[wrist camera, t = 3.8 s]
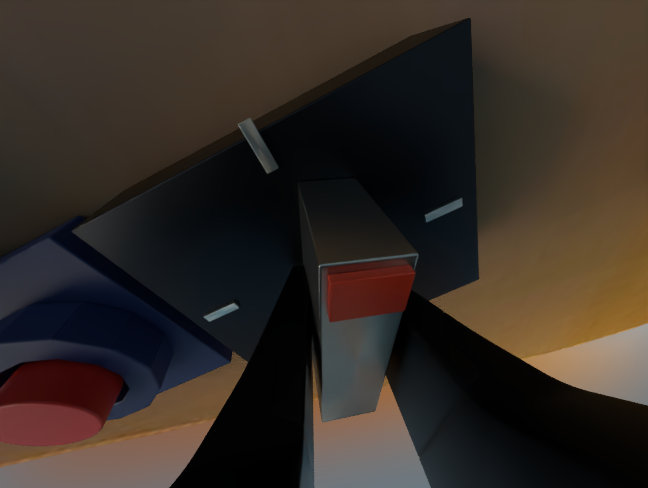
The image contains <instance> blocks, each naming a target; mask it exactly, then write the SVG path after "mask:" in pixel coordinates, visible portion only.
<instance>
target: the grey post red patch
mask: <svg viewBox="0 0 648 488" xmlns="http://www.w3.org/2000/svg"><path fill="white" fill-rule="evenodd" d="M298 197H299V211H300V225H301V240H302V254H303V265H304V267H305V271H306V276H307V281H308V286H309V297H310V311H311V326H312V358H313V364H314V371H315V378H316V385H317V392H318V399H319V405H320V412H321V419H322V422H327V421H331V420H336V419H341V418H346V417H351V416H355V415H360V414H364V413H369V412H374V411H375V410H376V406H377V403H378V399H379V396H380V392H381V389H382V385H383V382H384V378H385V374H386V371H387V367H388V364H389V360H390V356H391V353H392V349H393V346H394V342H395V338H396V335H397V331H398V328H399V324H400V320H401V317H402V313H403V311H405V309H406V306H407V302H408V299H409V295H410V292H411V288H412V284H413V281H414V277H415V274H416V273H415V271H414V270H415V266H416V263H417V259H418V253H417V251H416V250H415V249H414V248H413V247H412V245H411V244H410V243H409V242H408V241H407V239H406V238H405V237H404V236H403V235H402V233H401V232H400V231H399V230H398V229H397V227H396V226H395V225H394V224H393V223H392V222H391V220H390V219H389V218H388V217H387V216H386V214H385V213H384V212H383V211H382V210H381V208H380V207H379V206H378V205H377V204H376V202H375V201H374V200H373V199H372V198H371V196H370V195H369V194H368V193H367V192H366V191H365V189H364V188H363V187H362V186H361V185H360V183H359V182H358V181H357V180H356V179H355V178H347V179H332V180H317V181H302V182H298Z"/></svg>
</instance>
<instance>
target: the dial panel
mask: <svg viewBox="0 0 648 488" xmlns="http://www.w3.org/2000/svg"><path fill="white" fill-rule="evenodd" d="M238 126H239V129H238V130H236V131H234V132H232V133H230V134H228V135H227V136H225V137H223V138H221V139H219V140H217V141H215V142H214V143H212V144H210V145H208V146H206V147H204V148H202V149H201V150H199V151H197V152H195V153H193V154H191V155H189V156H188V157H186V158H184V159H182V160H180V161H178V162H176V163H175V164H173V165H171V166H169V167H167V168H165V169H164V170H162V171H160V172H158V173H156V174H154V175H152V176H151V177H149V178H147V179H145V180H143V181H141V182H139V183H138V184H136V185H134V186H132V187H130V188H128V189H126V190H125V191H123V192H122V193H120V194H119V195H118V196H116V197H115V198H114V199H112V200H111V201H110V202H108V203H107V204H106V205H104V206H103V207H102V208H100V209H99V210H98V211H96V212H95V213H94V214H92V215H91V216H90V217H88V218H87V219H86V220H84V221H83V222H82V223H80V224H79V225H78V226H76V227H75V228H74V229H72V233H74V234H75V235H76V236H78V237H79V238H81V239H82V240H83V241H85V242H86V243H87V244H89V245H90V246H91V247H93V248H94V249H95V250H97V251H98V252H99V253H101V254H102V255H104V256H105V257H106V258H108V259H109V260H110V261H112V262H113V263H114V264H116V265H117V266H118V267H120V268H121V269H123V270H124V271H125V272H127V273H128V274H129V275H131V276H132V277H133V278H135V279H136V280H137V281H139V282H140V283H142V284H143V285H144V286H146V287H147V288H148V289H150V290H151V291H152V292H154V293H155V294H156V295H158V296H159V297H161V298H162V299H163V300H165V301H166V302H167V303H169V304H170V305H171V306H173V307H174V308H175V309H177V310H178V311H180V312H181V313H182V314H184V315H185V316H186V317H188V318H189V319H190V320H192V321H193V322H194V323H196V324H197V325H198V326H200V327H201V328H203V329H204V330H205V331H207V332H208V333H209V334H211V335H212V336H213V337H215V338H216V339H217V340H219V341H220V342H222V343H223V344H224V345H226V346H227V347H228V348H230V349H231V350H232V351H234V352H235V353H236V354H238V355H239V356H241V357H242V358H243V359H245V360H246V361H247V362H249V360H250V358H251V356H252V354H253V352H254V350H255V347H256V345H257V344H258V341H259V339H260V337H261V335H262V332H263V330H264V328H265V326H266V324H267V322H268V319H269V317H270V315H271V313H272V311H273V309H274V306H275V304H276V302H277V300H278V298H279V295H280V293H281V291H282V289H283V287H284V285H285V282H286V280H287V278H288V276H289V274H290V272H291V269H292V267H293V266H299V265H303V254H302V240H301V225H300V211H299V197H298V182H302V181H317V180H332V179H347V178H355V179H356V180H357V181H358V182H359V183H360V185H361V186H362V187H363V188H364V189H365V191H366V192H367V193H368V194H369V195H370V196H371V198H372V199H373V200H374V201H375V202H376V204H377V205H378V206H379V207H380V208H381V210H382V211H383V212H384V213H385V214H386V216H387V217H388V218H389V219H390V220H391V222H392V223H393V224H394V225H395V226H396V227H397V229H398V230H399V231H400V232H401V233H402V235H403V236H404V237H405V238H406V239H407V241H408V242H409V243H410V244H411V245H412V247H413V248H414V249H415V250H416V251H417V253H418V259H417V263H416V266H415V270H414V271H415V273H416V274H415V277H414V281H413V284H412V288H411V289H412V290H413V291H415V292H416V293H418V294H419V295H420V296H422V297H423V298H425V299H426V300H428V301H429V300H431V299H433V298H436V297H438V296H441V295H443V294H445V293H448V292H450V291H452V290H455V289H457V288H459V287H462V286H464V285H466V284H469V283H471V282H474V281H476V280H478V279H479V264H478V232H477V200H476V168H475V137H474V105H473V73H472V41H471V19H470V18H467V19H463V20H460V21H457V22H454V23H451V24H447V25H444V26H441V27H438V28H435V29H431V30H428V31H425V32H422V33H418V34H415V35H412V36H410V37H408V38H406V39H404V40H402V41H401V42H399V43H397V44H395V45H393V46H391V47H390V48H388V49H386V50H384V51H382V52H380V53H378V54H377V55H375V56H373V57H371V58H369V59H367V60H365V61H364V62H362V63H360V64H358V65H356V66H354V67H352V68H351V69H349V70H347V71H345V72H343V73H341V74H340V75H338V76H336V77H334V78H332V79H330V80H328V81H327V82H325V83H323V84H321V85H319V86H317V87H315V88H314V89H312V90H310V91H308V92H306V93H304V94H302V95H301V96H299V97H297V98H295V99H293V100H291V101H289V102H288V103H286V104H284V105H282V106H280V107H278V108H277V109H275V110H273V111H271V112H269V113H267V114H265V115H264V116H262V117H260V118H258V119H256V120H254V121H252V119H251V117H250V118H248V119H246V120H244V121H242V122H240V123H239V124H238Z"/></svg>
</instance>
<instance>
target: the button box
mask: <svg viewBox="0 0 648 488" xmlns="http://www.w3.org/2000/svg"><path fill="white" fill-rule="evenodd" d="M84 220H86V219H85V218H84V217H83V216H81V215H80V216H77V217H75V218H73V219H71V220H69V221H67V222H66V223H64V224H62V225H60V226H58V227H56V228H54V229H53V230H51V231H49V232H47V233H45V234H43V235H41V236H40V237H38V238H36V239H34V240H32V241H30V242H28V243H27V244H25V245H23V246H21V247H19V248H17V249H15V250H14V251H12V252H10V253H8V254H6V255H4V256H3V257H1V258H0V388H1V387H2V386H3V385H4V384H5V382H6V381H7V380H8V379H9V378H10V377H11V376H12V374H13V373H14V372H15V371H16V370H17V369H18V368H19V367H20V366H22V365H23V364H25V363H27V362H31V361H42V360H53V359H61V360H68V361H75V362H82V363H89V364H96V365H99V366H101V367H103V368H106V369H108V370H110V371H112V372H115V373H117V374H119V375H121V377H122V378H123V380H124V383H123V387H122V389H121V391H120V393H119V395H118V397H117V399H116V401H115V403H114V405H113V407H112V409H111V412H110V414H109V416H108V418H107V420H113V419H119V418H122V417H125V416H127V415H129V414H132V413H134V412H136V411H139V410H141V409H143V408H146V407H148V406H149V405H150V404H151V402H152V401H153V399H154V398H155V396H156V395H157V394H159V393H161V392H163V391H166V390H168V389H170V388H173V387H175V386H177V385H180V384H182V383H184V382H186V381H189V380H191V379H193V378H196V377H198V376H200V375H203V374H205V373H207V372H209V371H212V370H214V369H216V368H219V367H221V366H223V365H226V364H228V363H230V362H231V358H232V350H231V349H230V348H228V347H227V346H226V345H224V344H223V343H222V342H220V341H219V340H217V339H216V338H215V337H213V336H212V335H211V334H209V333H208V332H207V331H205V330H204V329H203V328H201V327H200V326H198V325H197V324H196V323H194V322H193V321H192V320H190V319H189V318H188V317H186V316H185V315H184V314H182V313H181V312H180V311H178V310H177V309H175V308H174V307H173V306H171V305H170V304H169V303H167V302H166V301H165V300H163V299H162V298H161V297H159V296H158V295H156V294H155V293H154V292H152V291H151V290H150V289H148V288H147V287H146V286H144V285H143V284H142V283H140V282H139V281H137V280H136V279H135V278H133V277H132V276H131V275H129V274H128V273H127V272H125V271H124V270H123V269H121V268H120V267H118V266H117V265H116V264H114V263H113V262H112V261H110V260H109V259H108V258H106V257H105V256H104V255H102V254H101V253H99V252H98V251H97V250H95V249H94V248H93V247H91V246H90V245H89V244H87V243H86V242H85V241H83V240H82V239H81V238H79V237H78V236H76V235H75V234H74V233H72V229H74V228H75V227H76V226H78V225H79V224H80V223H82V222H83V221H84Z"/></svg>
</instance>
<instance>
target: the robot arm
mask: <svg viewBox="0 0 648 488" xmlns="http://www.w3.org/2000/svg"><path fill="white" fill-rule="evenodd" d="M386 377H387V379H388V382H389V384H390V387H391V389H392V392H393V394H394V396H395V399H396V402H397V404H398V407H399V409H400V412H401V414H402V416H403V419H404V421H405V424H406V426H407V429H408V431H409V434H410V436H411V439H412V441H413V444H414V446H415V449H416V451H417V453H418V456H419V457H420V461H421V464H422V466H423V469H424V471H425V474H426V476H427V479H428V481H429V484H430V486H431V488H648V406H647V405H643V404H638V403H635V402H630V401H626V400H622V399H618V398H614V397H610V396H606V395H602V394H598V393H594V392H589V391H586V390H582V389H579V388H576V387H573V386H571V385H568V384H566V383H563V382H561V381H559V380H557V379H555V378H553V377H551V376H549V375H547V374H545V373H543V372H542V371H540V370H538V369H536V368H534V367H533V366H531V365H530V364H528V363H526V362H524V361H523V360H521V359H519V358H518V357H516V356H514V355H512V354H511V353H509V352H507V351H506V350H504V349H502V348H501V347H499V346H497V345H495V344H494V343H492V342H490V341H489V340H487V339H485V338H484V337H482V336H480V335H479V334H477V333H476V332H474V331H472V330H471V329H469V328H468V327H466V326H465V325H463V324H462V323H460V322H459V321H457V320H456V319H454V318H453V317H451V316H450V315H448V314H447V313H443V311H442V310H441V309H439V308H438V307H437V306H435V305H434V304H432V303H431V302H429V301H428V300H426V299H425V298H423V297H422V296H420V295H419V294H418V293H416V292H415V291H413V290H412V289H411V292H410V295H409V299H408V302H407V306H406V309H405V311H403V313H402V317H401V320H400V324H399V328H398V331H397V335H396V338H395V342H394V346H393V349H392V353H391V356H390V360H389V364H388V367H387V371H386ZM313 445H314V443H313V371H312V326H311V311H310V297H309V286H308V281H307V276H306V271H305V267H304V265H299V266H293V267H292V269H291V272H290V274H289V276H288V278H287V280H286V282H285V285H284V287H283V289H282V291H281V293H280V295H279V298H278V300H277V302H276V304H275V306H274V309H273V311H272V313H271V315H270V317H269V319H268V322H267V324H266V326H265V328H264V330H263V332H262V335H261V337H260V339H259V341H258V344H257V345H256V347H255V350H254V352H253V354H252V356H251V358H250V360H249V362H248V364H247V366H246V368H245V370H244V372H243V374H242V376H241V378H240V379H239V381H238V383H237V385H236V386H235V388H234V390H233V392H232V393H231V395H230V397H229V398H228V400H227V402H226V403H225V405H224V407H223V408H222V410H221V412H220V413H219V415H218V416H217V418H216V420H215V421H214V423H213V425H212V426H211V428H210V430H209V432H208V433H207V435H206V436H205V438H204V440H203V441H202V443H201V445H200V446H199V448H198V450H197V451H196V453H195V454H194V456H193V458H192V459H191V460H190V462H189V463H188V465H187V466H186V468H185V469H184V470H183V472H182V473H181V474H180V476H179V477H178V478H177V479H176V481H175V482H174V483H173V484H172V485H171V487H170V488H314V446H313Z"/></svg>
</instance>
